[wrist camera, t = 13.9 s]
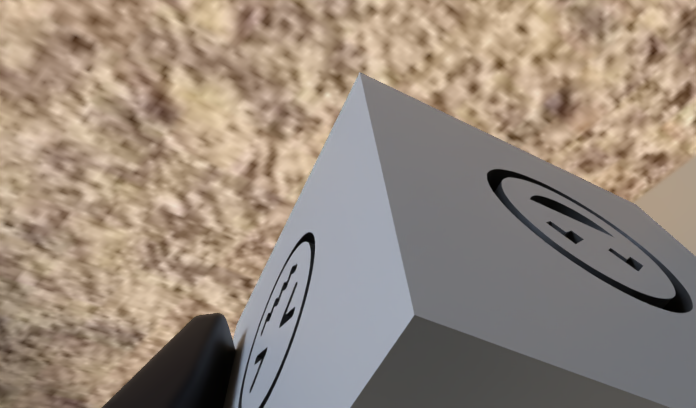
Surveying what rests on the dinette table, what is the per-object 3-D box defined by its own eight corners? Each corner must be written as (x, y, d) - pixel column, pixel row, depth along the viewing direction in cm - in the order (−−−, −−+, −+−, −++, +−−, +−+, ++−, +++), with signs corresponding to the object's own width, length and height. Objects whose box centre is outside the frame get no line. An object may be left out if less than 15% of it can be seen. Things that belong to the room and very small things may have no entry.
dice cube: (470, 400, 10) (579, 758, 6) (236, 324, 9) (146, 701, 5) (635, 204, 8) (1009, 530, 4) (359, 71, 7) (414, 315, 2)
